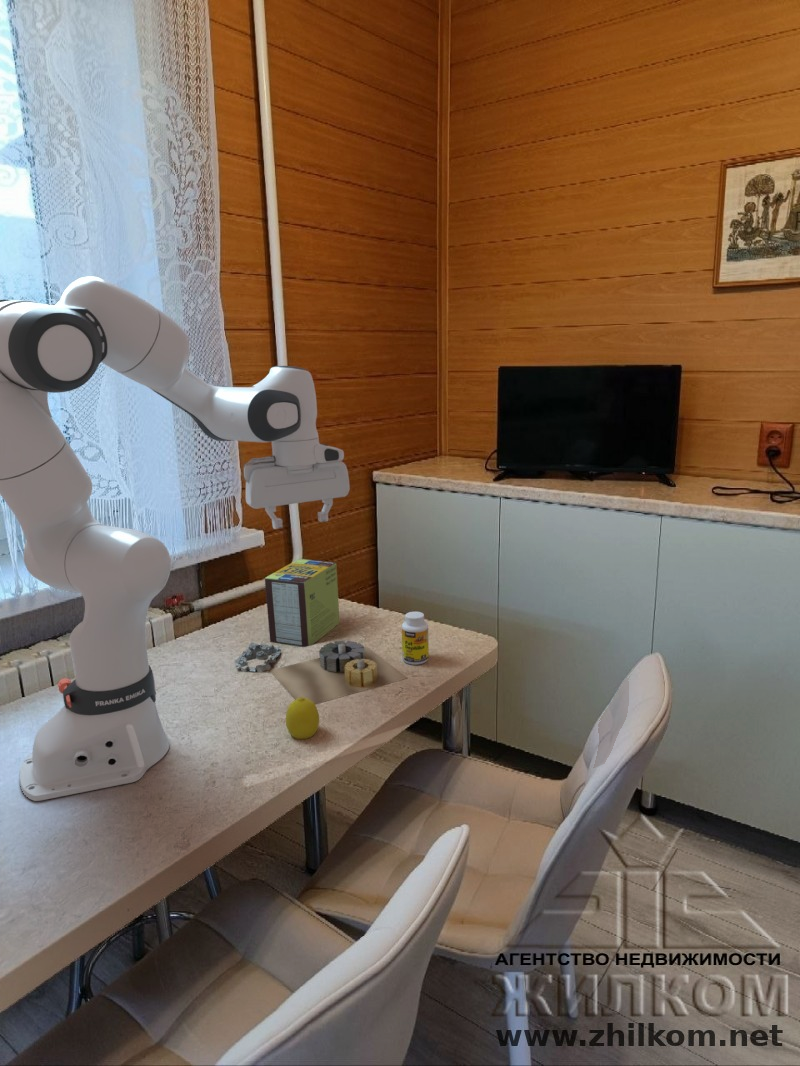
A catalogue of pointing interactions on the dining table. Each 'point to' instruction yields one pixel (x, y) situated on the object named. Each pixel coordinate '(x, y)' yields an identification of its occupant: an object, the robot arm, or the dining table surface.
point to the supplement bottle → (415, 639)
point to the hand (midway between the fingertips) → (300, 524)
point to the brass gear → (360, 673)
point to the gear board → (330, 678)
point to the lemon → (302, 718)
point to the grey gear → (340, 655)
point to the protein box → (302, 602)
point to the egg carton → (258, 657)
